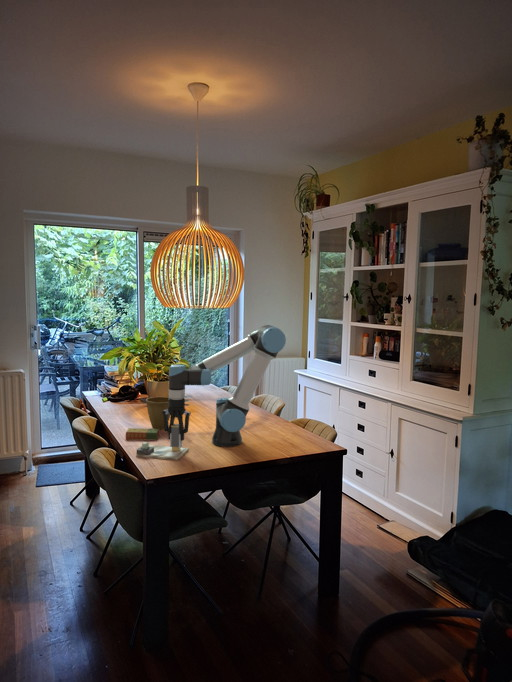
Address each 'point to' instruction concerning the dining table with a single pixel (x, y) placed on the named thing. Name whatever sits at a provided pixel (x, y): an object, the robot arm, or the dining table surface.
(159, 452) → the white tray
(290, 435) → the dining table surface
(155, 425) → the plant pot
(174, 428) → the grey rectangular bar
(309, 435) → the dining table surface
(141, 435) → the carton
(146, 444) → the button
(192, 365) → the robot arm
